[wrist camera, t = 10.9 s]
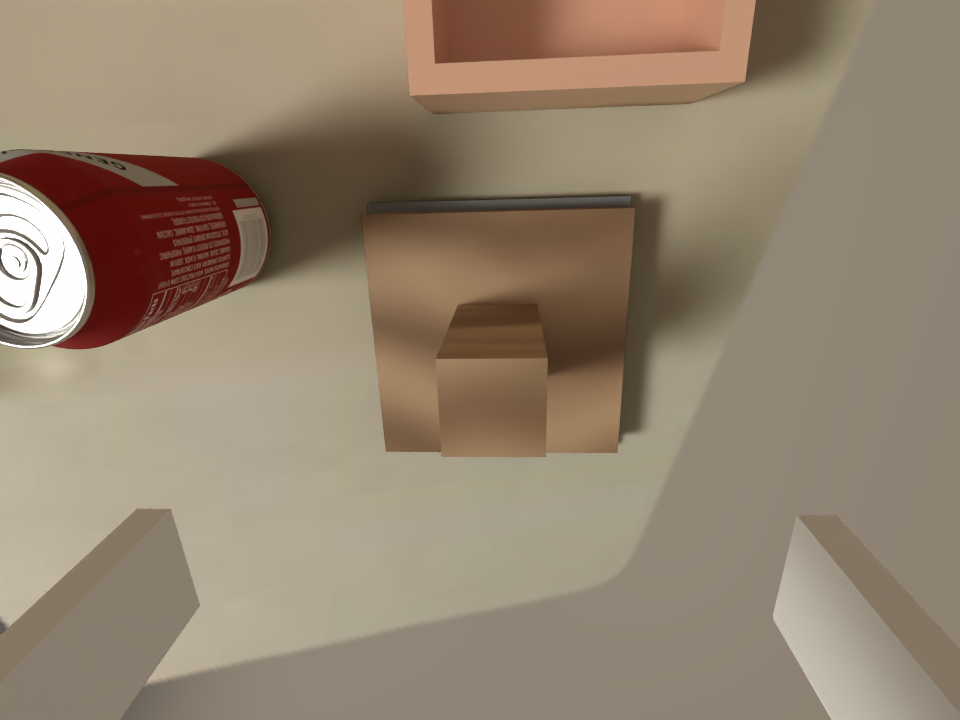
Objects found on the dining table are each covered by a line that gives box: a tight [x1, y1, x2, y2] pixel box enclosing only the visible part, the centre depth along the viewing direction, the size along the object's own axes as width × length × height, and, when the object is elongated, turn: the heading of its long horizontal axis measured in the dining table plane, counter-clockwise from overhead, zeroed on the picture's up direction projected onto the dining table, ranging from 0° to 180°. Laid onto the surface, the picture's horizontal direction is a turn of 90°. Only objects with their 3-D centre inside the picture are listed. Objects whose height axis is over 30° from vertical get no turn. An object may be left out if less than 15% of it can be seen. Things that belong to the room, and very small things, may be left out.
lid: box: [361, 207, 635, 457], centre depth 23 cm, size 13×13×9 cm
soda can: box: [0, 149, 271, 349], centre depth 21 cm, size 7×7×12 cm
